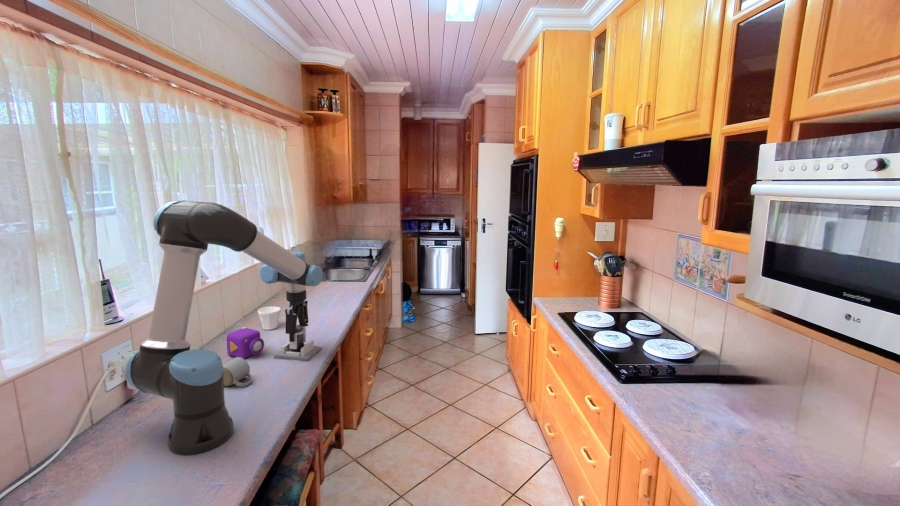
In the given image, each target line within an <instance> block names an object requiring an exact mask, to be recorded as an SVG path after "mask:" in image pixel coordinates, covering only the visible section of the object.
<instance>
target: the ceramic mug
mask: <svg viewBox="0 0 900 506" xmlns="http://www.w3.org/2000/svg"><path fill="white" fill-rule="evenodd" d="M222 366H223V381H224V387H229V386H230V387H231V386H233V385H235V386H237V387H243V388H244V387H247V386H249V385H250V384H251V383H252V381H253V376H252V373H250V371H251V368H250V365H249V363H248V362H247V360H246V359H245V358H244V359H243V358H241V357H233V359H231V360H230V361H228V362H226V363H225V364H222ZM246 377H248V379H249V381H247V382H241V380H243V379H245V378H246Z"/></svg>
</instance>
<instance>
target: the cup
mask: <svg viewBox="0 0 900 506" xmlns="http://www.w3.org/2000/svg"><path fill="white" fill-rule="evenodd" d="M281 311H282V309H281V307H279V306H265V307H260V308H259V309H258V310H257V314H258V317H259V319H260V320H259V321H260V323H261V325H262V329H263V330H264V331H273V330H276V329H277V328H278V325H279V321H280V316H281Z"/></svg>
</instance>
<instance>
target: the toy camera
mask: <svg viewBox="0 0 900 506" xmlns="http://www.w3.org/2000/svg"><path fill="white" fill-rule="evenodd" d="M264 347H265V341H264V339H263V338H262V337H261V332H260V331H259V330H256V329H252V328H248V327H247V326H243V327H241V328H239V329H237V330H235V331H231V332H229V333H227V334H226V352H227V355H229V356H230V357H233V358H236V357H241V358H243V359H244V360H245V359H246V358H249V357H251V356H253V355H259V354H260V353H261V352H262V351H263V349H264Z"/></svg>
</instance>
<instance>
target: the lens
mask: <svg viewBox="0 0 900 506" xmlns="http://www.w3.org/2000/svg"><path fill="white" fill-rule="evenodd" d="M295 333H297V349H291V352H301V348H302V347H304V344H305V342H304V329H303V326H301V325H299V324H296V331H295Z"/></svg>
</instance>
